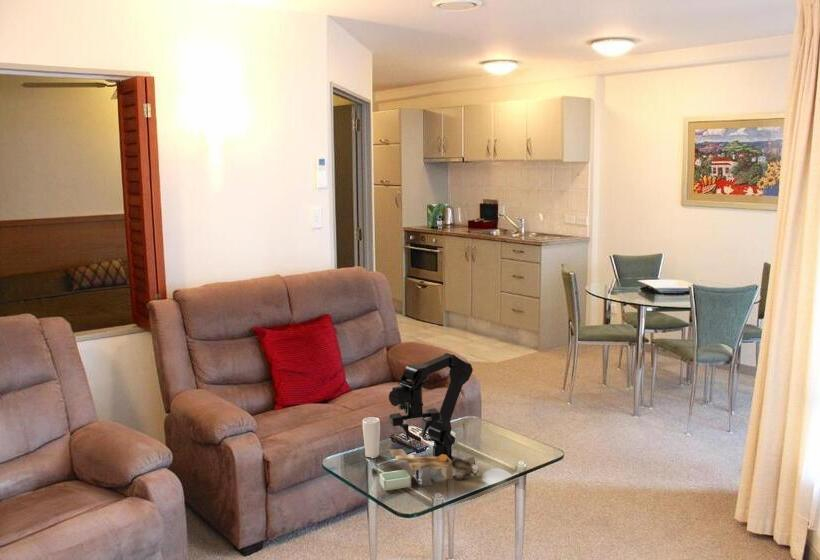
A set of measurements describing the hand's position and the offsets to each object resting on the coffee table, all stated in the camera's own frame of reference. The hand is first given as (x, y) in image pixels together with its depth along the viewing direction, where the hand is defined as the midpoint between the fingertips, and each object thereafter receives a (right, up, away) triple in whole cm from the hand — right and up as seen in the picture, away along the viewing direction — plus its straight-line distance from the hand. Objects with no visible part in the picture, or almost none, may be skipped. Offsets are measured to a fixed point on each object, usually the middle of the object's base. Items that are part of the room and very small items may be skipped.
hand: (415, 438), depth 274 cm
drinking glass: (-17, -10, +14) cm, 24 cm away
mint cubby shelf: (-7, -14, -10) cm, 19 cm away
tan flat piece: (+2, -7, -5) cm, 9 cm away
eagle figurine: (+18, -13, -5) cm, 23 cm away
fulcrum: (+7, -13, -6) cm, 16 cm away
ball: (+10, -6, -6) cm, 13 cm away
